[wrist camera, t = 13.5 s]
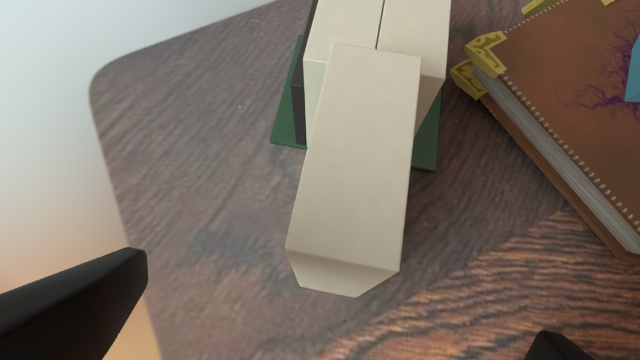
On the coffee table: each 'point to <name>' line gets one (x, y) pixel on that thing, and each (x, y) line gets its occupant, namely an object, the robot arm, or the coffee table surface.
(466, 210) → the coffee table surface
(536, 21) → the book
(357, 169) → the cream rectangular block
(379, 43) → the cream and green block
